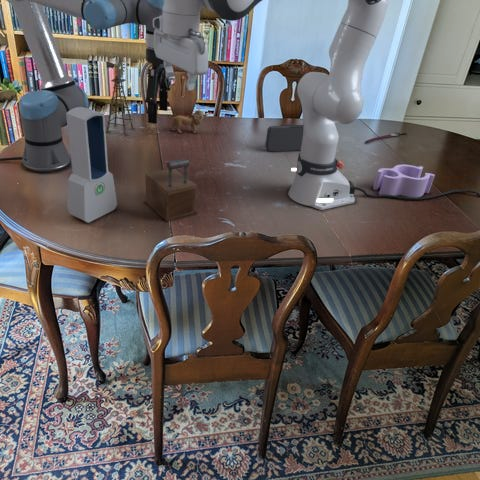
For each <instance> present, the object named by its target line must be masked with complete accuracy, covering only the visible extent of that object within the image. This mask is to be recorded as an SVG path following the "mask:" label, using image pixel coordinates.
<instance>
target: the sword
mask: <svg viewBox="0 0 480 480" xmlns="http://www.w3.org/2000/svg"><path fill="white" fill-rule="evenodd" d="M404 134H406V133H402V134H400V132H393V133H390V134H387V135H381V136H378V137H374V138H370V139H368V140H366V141H365V144H368V143H370V142H374V141H378V140H381V139H386V138H390V137H394V136H395V137H398V136H399V135H404Z"/></svg>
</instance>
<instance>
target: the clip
mask: <svg viewBox="0 0 480 480" xmlns="http://www.w3.org/2000/svg"><path fill="white" fill-rule="evenodd" d="M423 169H424V166H422V165H419V166H416V165H411V164H396V165H395V166H394V167H391V168H388V167H387V168H385V167H381V168H379V169H378V170H377V174H376V177H375V181H374V184H373V188H372V189H373V191H378V189H379V192H378V195H393V196H401V197H412V198H416V197H424V194H429V193H430V190H431V188H432V185H433V182H434V179H435V175H436V174H434V173H429V172H424V176H422V177H421V175H422V173H423Z"/></svg>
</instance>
